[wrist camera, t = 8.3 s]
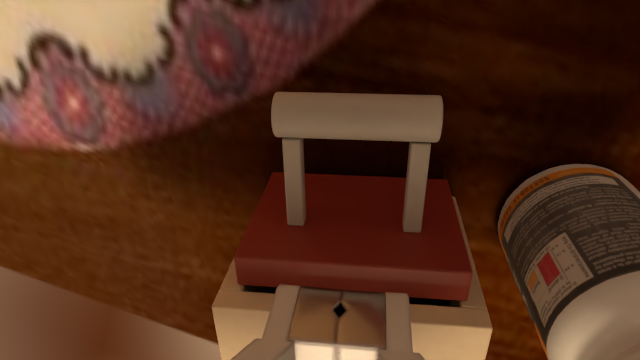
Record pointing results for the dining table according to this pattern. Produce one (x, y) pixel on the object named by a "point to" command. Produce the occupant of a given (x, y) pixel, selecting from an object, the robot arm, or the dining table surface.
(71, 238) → the dining table surface
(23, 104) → the dining table surface
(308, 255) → the drawer
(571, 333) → the pill bottle
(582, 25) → the dining table surface
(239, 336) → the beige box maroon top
